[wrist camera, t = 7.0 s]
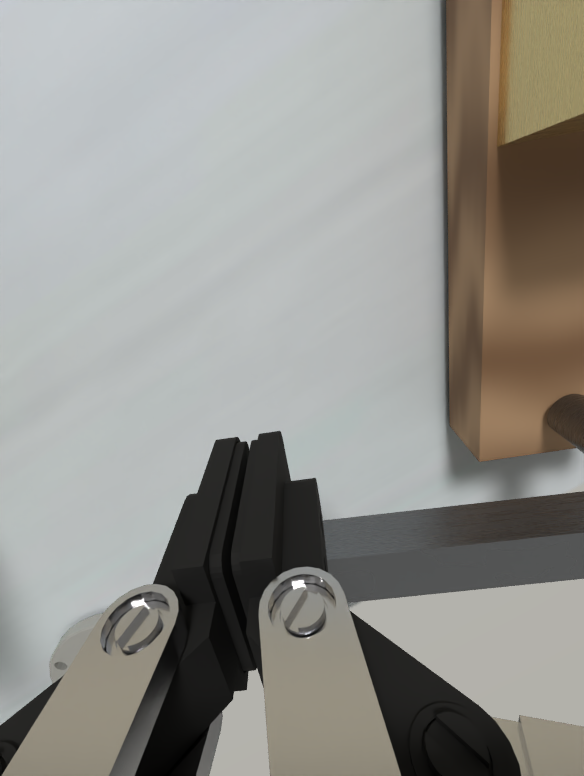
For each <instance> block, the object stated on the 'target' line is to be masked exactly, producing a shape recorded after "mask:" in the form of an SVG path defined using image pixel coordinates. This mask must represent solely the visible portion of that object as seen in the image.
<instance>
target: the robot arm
mask: <svg viewBox="0 0 584 776" xmlns="http://www.w3.org/2000/svg"><path fill="white" fill-rule="evenodd" d="M49 665H50V677H51V680H52V683H53V684H52V685H51V686H50V687H48V688H47V689H46V690H44V691H43V692H42V693H41V694H39V695H38V696H37V697H36V698H34V699H33V700H32V701H31V702H29V703H28V704H27V705H26V706H24V707H23V708H22V709H21V710H19V711H18V712H17V713H16V714H14V715H13V716H12V717H11V718H9V719H8V720H7V721H6V722H4V723H3V724H2V725H0V776H209V774H210V770H211V766H212V762H213V758H214V754H215V751H216V746H217V742H218V739H219V735H220V731H221V724H222V717H223V716H222V711H223V710H224V709H225V707H226V706H227V705H228V704H229V703H230V702H231V701H232V700H233V694H234V691H242V690H247V681H248V671H251V670H256V668H257V669H258V672H259V674H260V678H261V681H262V684H263V687H264V697H265V711H266V724H267V738H268V753H269V767H270V776H584V727H583V726H577V725H572V724H566V723H560V722H555V721H549V720H544V719H538V718H532V717H526V716H521V715H520V716H519V722H516V721H511V720H505V719H500V718H494V717H491V716H490V715H488V714H487V713H486V712H485V711H484V710H483V709H482V708H481V707H480V706H479V705H477V704H476V703H474V702H473V701H472V700H470V699H469V698H468V697H466V696H465V695H464V694H462V693H461V692H460V691H458V690H457V689H455V688H454V687H453V686H451V685H450V684H449V683H447V682H446V681H444V680H443V679H442V678H441V677H439V676H438V675H436V674H435V673H434V672H432V671H431V670H430V669H428V668H427V667H426V666H424V665H423V664H421V663H420V662H419V661H417V660H416V659H415V658H413V657H412V656H411V655H409V654H408V653H407V652H405V651H404V650H402V649H401V648H400V647H398V646H397V645H396V644H394V643H393V642H392V641H390V640H389V639H387V638H386V637H385V636H383V635H382V634H381V633H379V632H378V631H376V630H375V629H374V628H372V627H371V626H370V625H368V624H367V623H366V622H364V621H363V620H362V619H360V618H359V617H357V616H356V615H355V614H354V613H352V612H351V611H350V610H349V607H348V603H347V600H346V597H345V594H344V592H343V590H342V588H341V586H340V584H339V582H338V581H337V580H336V579H335V578H334V577H333V576H332V575H331V574H329V573H328V565H327V555H326V545H325V536H324V527H323V519H322V512H321V505H320V499H319V493H318V487H317V482H316V478H312V479H304V480H296V481H291V479H290V474H289V469H288V464H287V459H286V454H285V449H284V444H283V439H282V434H281V432H280V431H277V432H270V433H263V434H259V436H258V440H252V441H251V446H250V451H249V447H248V444H247V442H246V441H245V442H240V440H239V438H238V437H234V438H227V439H220V440H216V441H215V444H214V447H213V449H212V452H211V455H210V458H209V461H208V464H207V467H206V470H205V472H204V475H203V478H202V481H201V484H200V487H199V490H198V493H197V494H190V495H188V496H187V498H186V499H185V501H184V504H183V507H182V509H181V512H180V514H179V517H178V520H177V522H176V525H175V528H174V530H173V533H172V535H171V538H170V541H169V543H168V546H167V548H166V551H165V554H164V556H163V559H162V562H161V564H160V567H159V569H158V572H157V575H156V577H155V580H154V583H153V584H151V585H144V586H141V587H138V588H136V589H133V590H131V591H129V592H128V593H126V594H124V595H123V596H121V597H120V598H118V599H117V600H116V601H115V602H114V603H113V604H112V605H110V606H109V607H108V608H107V610H106V611H105V612H104V613H101V614H97V615H94V616H91V617H89V618H87V619H84V620H82V621H80V622H79V623H77V624H76V625H74V626H73V627H71V628H70V629H69V630H68V631H67V632H66V633H65V634H64V636H63V637H62V638H61V640H60V642H59V644H58V645H57V647H56V649H55V651H54V652H53V654H52V657H51V660H50V664H49Z"/></svg>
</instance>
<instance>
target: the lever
mask: <svg viewBox="0 0 584 776" xmlns="http://www.w3.org/2000/svg"><path fill="white" fill-rule="evenodd" d="M547 423H548V425H549V427H550V428H551V429H553V430H554V431H555V432H556V433H558V434H559V435H560V436H562V437H563V438H564V439H566V440H567V441H568V442H570V443H571V444H572V445H574V446H575V447H576V448H577V449H579V450H580V451H581V452H583V453H584V395H581V394H569V395H566V396H563V397H561V398H560V399H558V400H557V401H556V402H555V403H554V404H553V405H552V406H551V407H550V409H549V411H548V414H547ZM323 527H324V536H325V545H326V555H327V565H328V573H329V574H331V575H332V576H333V577H334V578H335V579H336V580H337V581H338V582H339V584H340V586H341V588H342V590H343V592H344V594H345V597H346V600H347V603H348V602H358V601H368V600H377V599H387V598H398V597H407V596H417V595H426V594H436V593H447V592H456V591H466V590H476V589H486V588H496V587H506V586H515V585H525V584H534V583H545V582H555V581H564V580H574V579H584V492H575V493H566V494H557V495H548V496H539V497H531V498H522V499H513V500H504V501H495V502H486V503H477V504H468V505H459V506H450V507H441V508H432V509H423V510H414V511H405V512H396V513H387V514H378V515H369V516H360V517H351V518H342V519H333V520H324V521H323Z"/></svg>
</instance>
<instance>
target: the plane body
mask: <svg viewBox="0 0 584 776" xmlns="http://www.w3.org/2000/svg"><path fill="white" fill-rule="evenodd" d="M501 22H502V0H446V47H447V169H448V291H449V412H450V427H451V428H452V429H453V430H454V432H455V433H456V434H457V435H458V436H459V438H460V439H461V440H462V441H463V443H464V444H465V445H466V446H467V447H468V449H469V450H470V451H471V452H472V454H473V455H474V456H475V457H476V458H477V460H478V461H479V462H482V461H489V460H496V459H503V458H510V457H517V456H524V455H531V454H538V453H545V452H551V451H558V450H565V449H572V448H576V447H575V446H574V445H572V444H571V443H570V442H568V441H567V440H566V439H564V438H563V437H562V436H560V435H559V434H558V433H556V432H555V431H554V430H553V429H551V428H550V427H549V425H548V423H547V414H548V411H549V409H550V407H551V406H552V405H553V404H554V403H555V402H556V401H557V400H558V399H560V398H561V397H563V396H566V395H569V394H581V395H584V131H580V132H574V133H569V134H564V135H558V136H553V137H548V138H542V139H537V140H532V141H527V142H521V143H516V144H511V145H505V146H500V147H497V136H498V108H499V79H500V51H501Z"/></svg>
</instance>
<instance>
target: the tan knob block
mask: <svg viewBox="0 0 584 776" xmlns="http://www.w3.org/2000/svg"><path fill="white" fill-rule="evenodd" d="M580 131H584V0H502V22H501V51H500V79H499V108H498V136H497V147H500V146H505V145H511V144H516V143H521V142H527V141H532V140H537V139H542V138H548V137H553V136H558V135H564V134H569V133H574V132H580Z"/></svg>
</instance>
